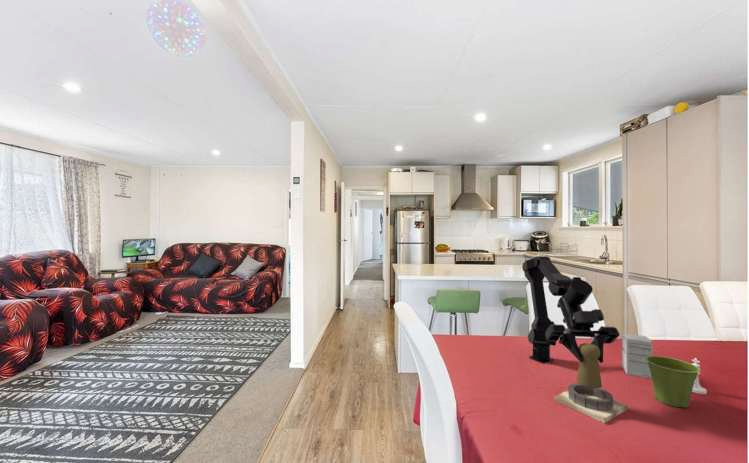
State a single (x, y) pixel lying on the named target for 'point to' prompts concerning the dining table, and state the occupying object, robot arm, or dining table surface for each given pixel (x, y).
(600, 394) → the collar board
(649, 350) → the supplement box
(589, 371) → the cork
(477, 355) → the dining table surface
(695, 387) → the chess piece
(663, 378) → the plant pot
